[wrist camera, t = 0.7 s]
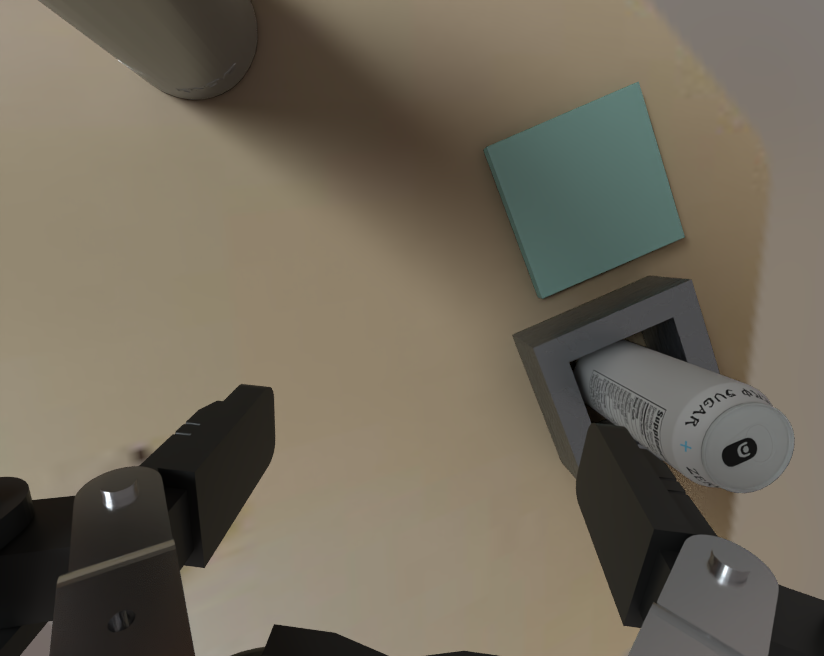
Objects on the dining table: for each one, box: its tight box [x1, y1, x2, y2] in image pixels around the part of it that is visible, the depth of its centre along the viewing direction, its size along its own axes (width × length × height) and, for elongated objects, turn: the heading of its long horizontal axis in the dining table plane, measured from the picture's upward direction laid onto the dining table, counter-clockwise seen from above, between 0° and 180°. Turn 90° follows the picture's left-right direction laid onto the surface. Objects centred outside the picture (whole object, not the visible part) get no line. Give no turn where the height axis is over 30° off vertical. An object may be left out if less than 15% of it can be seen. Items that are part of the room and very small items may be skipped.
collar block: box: [512, 276, 720, 479], centre depth 35 cm, size 12×12×5 cm
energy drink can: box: [574, 339, 795, 493], centre depth 30 cm, size 6×6×15 cm
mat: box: [484, 82, 685, 299], centre depth 35 cm, size 12×12×1 cm
